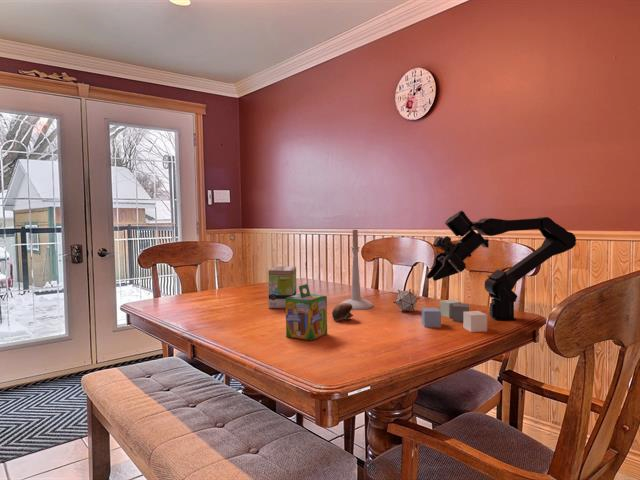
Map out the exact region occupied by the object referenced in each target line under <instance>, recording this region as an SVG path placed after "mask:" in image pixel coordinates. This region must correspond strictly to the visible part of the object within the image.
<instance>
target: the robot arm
mask: <svg viewBox="0 0 640 480" xmlns="http://www.w3.org/2000/svg"><path fill="white" fill-rule="evenodd" d="M444 224H445V226H447V228H448V229H449V231H451V232H452V233H453V234H454V235H455V236H456V237H460V240H458V241H457V242H453V241H452V238H451V237H450V236H448V235H446V236H444V237H442V236H436V237H435V239H434V242H433V244H432V246H433V247H435V248H438V249H440V250H441V251H443V252H437V253H436V254H435V255H434V258H433V260H434V264H433V266H432V267H431V269H430V270H429V272H427V275H426V278H427V279H428V280H429V279H431V278H432V280H433V281H435V282H436V281H439V280H441V279H445V278H448V277H450V276H453V275H456V274H459V272H460V273H462V272H463V271H465V269H467V268H466V267H467V264H466V262H464V261H465V260H466V259H468V258H471V257H472V254H473V253H474V252H475V251H476V250H477V249H478V248H479V247H480V246H481V247H483V248H486V249H488V248H490V244H489V243H490V242H489V241H490V240H489V239H488V238H487V239H486V238H484V237H483V236H488V237H494V236H498V235H503V234H504V233H508V232H515V231H516V232H518V231H531V230H538V231H539V232H540V233H541V235H542V237H544V240H543V242H542V244H541V245H540V246H539V247H537V249H535V250H534V251H532V252H531V253H530V254H528V255H527V256H525V257H524V258H523V259H521V260H520V261H519V262H517V263H516V264H514V265H513V266H511V267H510V268H508V269H507V270H505V271H503V270H500V269H496V270H495V271H494V272H493V273H492V274H490V275H487V278H486V280H485V281H484V285H483V286H484V289H485V291H486V292H487V293H488V294H489V296H490V297H489V298H491V300H490V301H491V302H490V303H489V317H491V318H492V319H493V320H495V321H516V320H517V318H516V317H515V302H516V301H517V299H518V295H517V294H516V293H515V291H513V289H515V286H516V284H517V282H518V281H520V280H521V279H522V278H524V277H526V276H527V275H528V274H529V273H530V272H532V271H534V270H535V269H536V268H538V267H539V266H541V264H543V263H544V262H546V261H548V260H549V259H550V258H551V257H553V256H557V255H560V254H563V253H565V252H568V251H570V250H572V249H574V247H576V245H577V238H576V235H575V234H574V233H573V232H570V231H568V230H567V229H566V228H564V227H562V226H561V225H560V224H558V223H556V222H555V221H554V220H553V219H552V218H550V217H549V216H548V217H547V216H538V217H536V218H535V217H533V218H519V219H517V218H516V219H502V218H494V217H493V218H492V217H489V218H488V217H484V218H483V217H482V218H480V219H478V221H472V220H471V219H470V218H469V217H468V216H467V214H466V213H465V211H463V210H459V211H458V212H457V213H455V214H453V215H451V216H450V217H448V218H447V219H446V221H445V222H444ZM475 231H476V232H475Z"/></svg>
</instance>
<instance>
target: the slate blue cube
mask: <svg viewBox="0 0 640 480" xmlns="http://www.w3.org/2000/svg"><path fill="white" fill-rule="evenodd" d="M421 325H423V327H424V328H442V315H441V311H440V308H438V307H421Z"/></svg>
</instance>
